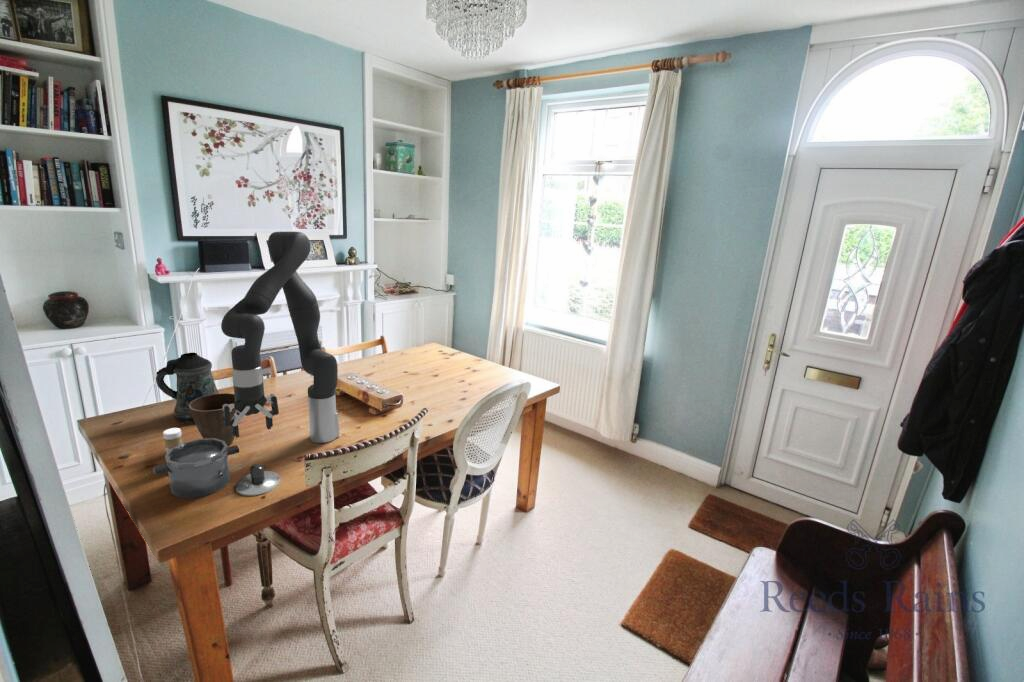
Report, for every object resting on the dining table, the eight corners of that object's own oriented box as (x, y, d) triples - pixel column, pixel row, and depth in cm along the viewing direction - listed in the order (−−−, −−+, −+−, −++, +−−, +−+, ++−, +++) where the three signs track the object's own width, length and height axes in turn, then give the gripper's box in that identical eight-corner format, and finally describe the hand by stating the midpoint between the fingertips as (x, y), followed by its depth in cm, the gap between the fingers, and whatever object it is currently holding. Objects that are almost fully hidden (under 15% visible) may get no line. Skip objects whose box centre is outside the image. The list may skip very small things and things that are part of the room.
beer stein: (233, 414, 186) (226, 354, 179) (178, 431, 171) (168, 366, 164) (212, 402, 195) (205, 344, 188) (158, 417, 179) (148, 355, 172)
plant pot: (183, 451, 159) (177, 407, 154) (216, 431, 173) (211, 390, 168) (224, 457, 157) (219, 413, 152) (254, 436, 171) (250, 395, 167)
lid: (273, 469, 152) (272, 453, 151) (285, 487, 144) (284, 469, 142) (231, 482, 144) (229, 464, 143) (241, 501, 136) (239, 482, 134)
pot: (234, 461, 155) (230, 431, 151) (247, 482, 144) (243, 450, 141) (154, 484, 140) (148, 450, 137) (162, 509, 130) (156, 473, 127)
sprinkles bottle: (184, 463, 152) (178, 425, 148) (188, 469, 149) (182, 431, 145) (167, 468, 148) (160, 430, 145) (170, 474, 145) (164, 435, 142)
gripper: (270, 372, 142) (274, 421, 146) (216, 382, 132) (222, 434, 137) (279, 380, 137) (282, 430, 141) (223, 390, 127) (229, 444, 132)
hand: (253, 432), depth 139 cm, fingers open, 8 cm apart
